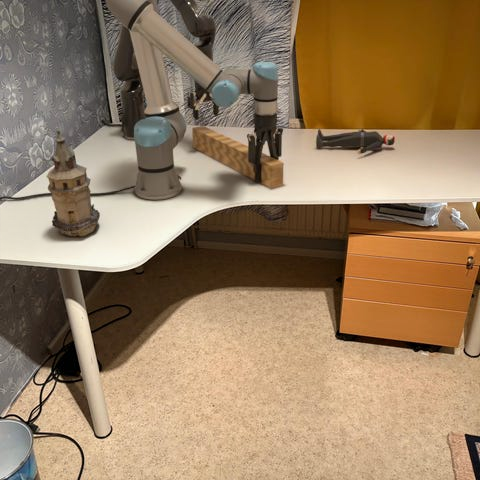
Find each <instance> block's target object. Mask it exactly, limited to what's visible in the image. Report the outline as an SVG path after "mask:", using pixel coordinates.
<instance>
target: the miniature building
mask: <svg viewBox="0 0 480 480" xmlns="http://www.w3.org/2000/svg"><path fill="white" fill-rule="evenodd" d="M56 134H57V136H56V138H55V140H54V141H55V142H56V147H55V154H54V156H52V157H51V161H52V162H53V165H54V167H53V168H51V169H50V170H49V171H48V173H47V174H46V178H47V179H48V182H49V184H48V186H47V190H48V191H49V193H52V195H51V200H52V201H53V205H54V209H55V211H53V217H52V220H51V223H52V225H51V227H54V228H56V229H58V230H59V231H60V234H63V235H64V234H65V235H66V236H69V237H77V236H80V237H83V236H87V235H88V234H90V233H93V232H94V231H95V229H96V226H97V225H98V223H99V220H100V216H101V213H100V212H99V210H98V209H96V208H95V204H92V201H91V200H92V199H91V198H92V197H91V195H90V193H92V191H91V188H90V184H91V178H89V177H88V174H87V167H85V166H84V165H83V166H82V165H80V164H77V160H76V154H75V151H74V150H70V149H69V147H68V145H67V143H66V138H65V137H64V136H63V135H61V130H60V129H56Z"/></svg>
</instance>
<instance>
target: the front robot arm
mask: <svg viewBox="0 0 480 480" xmlns="http://www.w3.org/2000/svg"><path fill="white" fill-rule="evenodd" d="M159 2H160V0H105V5H106V7H107V9H108V11H109V12H110V13H111V15H112V16H113V17H114V18H116V20H117V21H118V22H120V24H121V23H122V24H123V25H124V26H125V27H126V28H128V29H129V31H130V35H131V39H132V43H133V47H134V55H135V56H136V60H137V64H138V68H139V72H140V77H141V81H142V85H143V89H144V90H143V94H144V97H145V102H146V107H145V111H144V113H145V119H142V120H140V121H138V122H137V123H136V125H135V127H134V139H135V140H134V144H135V154H136V161H137V175H136V179H135V184H134V185H132V186H127V187H124V188H120V189H118V190H113V191H106V192H90V196H105V195H106V196H107V195H112V194H117V193H121V192H124V191H125V192H126V191H128V190H132V189H134V193H135V195H136V196H137V197H138V198H141V199H143V200H148V201H161V200H168V199H171V198H174V197H176V196H178V195H179V194H180V193H181V192H182V183H181V181H182V177H181V176H180V175H179V174H178V173H177V171H176V169H175V161H174V160H175V159H174V158H175V157H174V149H175V148H176V147H177V146H178V144H179V143H180V142H181V141H182V140H183V139H184V138H185V134H186V132H187V121H186V118H185V116H184V114H183V113H182V112H181V110H180V106H179V104H178V103H177V102H176V101H174V100H173V95H172V90H171V85H170V81H169V77H168V72H167V68H166V63H165V59H164V56H165V57H166V58H168V59H169V60H170V61H171V62H172V63H174V64H175V65H176V66H177V67H178V68H180V70H182V71H183V72H184V73H185V74H187V76H189V77H190V78H191V79H192V80H193V81H194V80H195V81H196V82H197V83H198V84H200V85H201V86H202V87H203V88H204V89H206V90H207V91H208V92H209V93H210V94H211V96H212V99H213V101H214V103H215V104H216V105H218V106H219V108H229V107H231V106H233V105H234V104H235V103H236V102H237V101H238V99H239V98H240V95H253V112H254V113H253V125H254V129H253V132H252V133H247V134H246V138H247V141H248V142H247V144H248V145H247V146H248V162H250V163H252V164H253V171H254V173H255V180H254V181H255V182H257V183H260V184H261V171H262V164H260V159H261V154H262V153H263V149H264V146H265V144H267V148H268V153H269V156H270V157H272V158H274V159H277V160H279V159H280V158H282V153H283V152H282V151H283V150H282V146H283V133H284V129H283V128H282V127H280V126H277V124H278V113H277V112H278V95H279V93H278V91H279V68H278V64H276V63H275V62H272V61H257V62H255V63H254V65H253V68H251V69H248V68H247V69H246V68H245V69H244V68H242V69H241V68H229V67H227V68H221V67H220V66H218V64H216V63H215V62H214V60H213V61H212V60H210V59H209V58H208V57H207V56H206V55H205V54H203V53H202V52H201V51H200V50H199V49H198V48H197V47H195V44H193V43H192V42H191V41H190V40H189V39H188V38H186V37H185V36H184V35H183V34H182V33H181V32H180V31H178V30H177V29H176V28H175V27H174V26H173V25H171V24H170V23H169V22H168V21H167V20H166V19H165V18H163V17H162V16H161V15H160V11H159V7H158V6H159ZM279 161H280V160H279ZM43 196H44V197H45V196H52V193H51V192H44V193H37V194H36V193H35V194H31V195H26V196H25V195H24V196H17V197H15V196H8V195H7V196H6V195H4V196H0V201H1V200H4V199H6V200H15V201H17V200H18V201H19V200H25V199H30V198H37V197H43ZM11 287H12V291H13V293H14V294H15V293H16V292H17V290H16V287H15V284H11Z"/></svg>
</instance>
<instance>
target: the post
mask: <svg viewBox="0 0 480 480" xmlns="http://www.w3.org/2000/svg"><path fill="white" fill-rule="evenodd" d="M191 131H192V147H193V149H194V150H197V151H198V152H201V153H202V154H204V155H206V156H208V157H210V158H212V159H214V160H216V161H218V162H220V163H222V164H223V165H225V166H227V167H229V168H231V169H233V170H235V171H237V172H238V173H240V174H243V175H244V176H247V177H248V178H250V179H252V180H254V181H255V173H254V171H253V164H252V163H250V162H248V145H246V144H243V143H242V142H240V141H237V140H235V139H233V138H230V137H229V136H227V135H224V134H222V133H219V132H217V131H215V130H213V129H212V128H209V127H207V126H205V125H200V126H195V127H191ZM260 164H262V171H261V183H260V184H261V185H263V186H265V187H267V188H269V189H270V190H272V189H276V188H279V187H282V186H284V164H285V163H284V162H283V161H281V160H277V159H274V158H272V157H270V155H268V154H266V153H263V152H262V154H261V159H260Z"/></svg>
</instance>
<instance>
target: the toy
mask: <svg viewBox="0 0 480 480" xmlns="http://www.w3.org/2000/svg"><path fill="white" fill-rule="evenodd" d="M395 139H396V137H395V136H394V135H392V134H385V135H384V136H382V135H381V134H380V133H379V132H378V131H375V130H374V131H373V130H372V131H366V130H364V129H363V128H358V130H357V131H351V132H343V133H337V134H330V135H324V134H323V133H322V130H321V129H320V128H318V129H317V134H316V139H315V141H316V142H315V144H316V145H315V146H316V148H317V149H321V148H325V147H326V148H336V147H340V148H354V149H355V148H359V147H360V148H359V149H357V151H356V153H357V154H358V155H361V154H364V153H366V152H368V151H372V150H381V149H382V146H383V145H385V146H392V145H394V143H395V142H396V141H395Z"/></svg>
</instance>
